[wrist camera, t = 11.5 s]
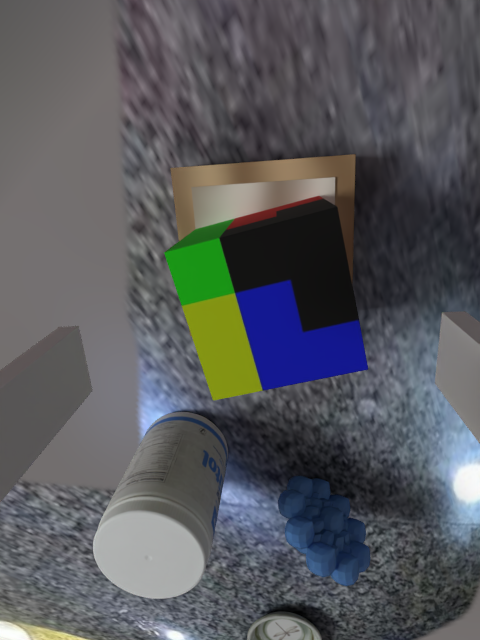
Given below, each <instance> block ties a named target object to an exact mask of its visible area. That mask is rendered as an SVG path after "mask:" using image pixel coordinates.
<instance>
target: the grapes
mask: <svg viewBox="0 0 480 640" xmlns="http://www.w3.org/2000/svg"><path fill="white" fill-rule="evenodd" d="M278 507H279V511H280V513H281V515H283V516H284V517H286V518H288V519H289V520H288V521H287V523H286V527H285V537H286V540H287V542H288V543H289V544H290V545H291V546H293V547H294V548H296V549H297V550H298V551H299V552H301V553H303V554H306V562H307V566H308V569H309V570H310V571H311V572H312V573H314V574H315V575H318V576H321V577H326V576H330V575H331V577H332V579H333V580H334V581H336V582H337V583H339V584H341V585H344V586H349V585H353V584H354V583H355V582H356V581H357V579H358V576H359V573H360V572H364V571H365V570H366V569H367V568H368V567H369V563H370V551H369V547H368V546H366V545H365V544H363V542H364V541H365V536H366V530H365V524H364V523H363V522H361V521H359V520H357V519H353V518H348V517H349V513H350V502H349V499H348V498H346V497H344V496H342V495H338V494H334V495H330V485H329V482H327V481H325V480H323V479H319V478H314V479H309V478H307V477H304V476H293V477H292V478H291V479H290V480H289V482H288V485H287V490H285V491H284V492H282V493H281V494H280V497H279V500H278ZM347 518H348V519H347Z"/></svg>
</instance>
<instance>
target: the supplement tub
mask: <svg viewBox="0 0 480 640" xmlns="http://www.w3.org/2000/svg"><path fill="white" fill-rule="evenodd" d="M227 459H228V447H227V443H226V440H225V438H224V436H223V434H222V433H221V431H220V430H219V429H218V428H217V427H216V426H215V425H214V424H213V423H212V422H211V421H209V420H208V419H206V418H205V417H203V416H200V415H198V414H194V413H189V412H175V413H170V414H167V415H164V416H162V417H160V418H159V419H157V420H156V421H155V422H154V423H153V424H152V425H151V426H150V427H149V429H148V430H147V432H146V434H145V436H144V438H143V440H142V442H141V443H140V445H139V447H138V449H137V451H136V453H135V455H134V457H133V459H132V461H131V463H130V465H129V467H128V468H127V470H126V473H125V474H124V476H123V478H122V480H121V482H120V484H119V486H118V487H117V489H116V491H115V493H114V495H113V497H112V499H111V501H110V503H109V505H108V507H107V509H106V511H105V513H104V515H103V517H102V519H101V521H100V523H99V527H98V530H97V532H96V535H95V537H94V542H93V552H94V557H95V560H96V562H97V564H98V566H99V568H100V570H101V571H102V572H103V574H104V575H105V576H106V577H107V578H108V579H109V580H110V581H111V582H112V583H114V584H115V585H116V586H118V587H120V588H121V589H123V590H125V591H127V592H129V593H132V594H134V595H138V596H141V597H146V598H154V599H163V598H171V597H176V596H179V595H182V594H184V593H186V592H188V591H189V590H191V589H192V588H193V587H195V586H196V585H197V584H198V582H199V581H200V580H201V578H202V576H203V574H204V572H205V568H206V564H207V562H208V559H209V556H210V552H211V547H212V542H213V537H214V532H215V526H216V521H217V516H218V510H219V505H220V499H221V493H222V488H223V482H224V477H225V471H226V465H227Z"/></svg>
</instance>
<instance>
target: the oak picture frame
mask: <svg viewBox="0 0 480 640" xmlns="http://www.w3.org/2000/svg"><path fill="white" fill-rule="evenodd" d="M355 155H356V154H354V155H340V156H327V157H314V158H300V159H287V160H273V161H260V162H246V163H233V164H220V165H206V166H193V167H179V168H171V176H172V185H173V193H174V202H175V210H176V219H177V228H178V236H179V241H180V240H182V239H183V238H184V237H186V236H187V235H188V234H190V233H191V232H192V231H194V230H195V229H198V228H202V227H205V226H209V225H213V224H216V223H220V222H224V221H227V220H231V219H235V218H238V217H242V216H246V215H249V214H253V213H257V212H261V211H264V210H268V209H272V208H275V207H279V206H283V205H286V204H290V203H294V202H297V201H301V200H305V199H308V198H312V197H316V196H320V197H322V198H324V199H325V200H327V201H329V202H331V203H332V204H334V205H336V206H337V207H338V212H339V218H340V223H341V228H342V234H343V239H344V244H345V249H346V255H347V260H348V265H349V270H350V276H351V281H353V239H354V197H355ZM189 330H190V329H189ZM190 336H192V335H191V332H190Z"/></svg>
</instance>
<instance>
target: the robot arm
mask: <svg viewBox="0 0 480 640" xmlns="http://www.w3.org/2000/svg"><path fill="white" fill-rule="evenodd" d="M435 384H436V385H437V387H438V388H439V389H440V391H441V392H442V393H443V395H444V396H445V398H446V399H447V400H448V402H449V403H450V404H451V406H452V407H453V408H454V410H455V411H456V412H457V414H458V415H459V416H460V418H461V419H462V420H463V422H464V423H465V424H466V426H467V427H468V428H469V430H470V431H471V432H472V434H473V435H474V436H475V438H476V439H477V440H478V442H479V443H480V322H479V321H477V320H476V319H475V318H473V317H472V316H471V315H469V314H468V313H467V312H442V318H441V328H440V338H439V347H438V357H437V367H436V377H435ZM91 392H92V386H91V381H90V377H89V372H88V367H87V363H86V358H85V354H84V349H83V344H82V339H81V335H80V330H79V326H71V327H58V328H57V329H56V330H54V331H53V332H52V333H50V334H49V335H48V336H46V337H45V338H44V339H42V340H41V341H39V342H38V343H37V344H35V345H34V346H32V347H31V348H30V349H28V350H27V351H26V352H24V353H23V354H22V355H20V356H19V357H17V358H16V359H15V360H13V361H12V362H11V363H9V364H8V365H6V366H5V367H4V368H2V369H1V370H0V502H1V501H2V500H3V499H4V497H5V496H6V495H7V494H8V493H9V491H10V490H11V489H12V488H13V487H14V485H15V484H16V483H17V482H18V480H19V479H20V478H21V477H22V476H23V474H24V473H25V472H26V471H27V470H28V468H29V467H30V466H31V465H32V463H33V462H34V461H35V460H36V459H37V457H38V456H39V455H40V454H41V452H42V451H43V450H44V449H45V448H46V446H47V445H48V444H49V443H50V442H51V440H52V439H53V438H54V437H55V435H56V434H57V433H58V432H59V430H61V428H62V427H63V426H64V425H65V423H66V422H67V421H68V420H69V419H70V417H71V416H72V415H73V414H74V412H75V411H76V410H77V409H78V408H79V406H80V405H81V404H82V403H83V402H84V400H85V399H86V398H87V397H88V395H89V394H90V393H91Z"/></svg>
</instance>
